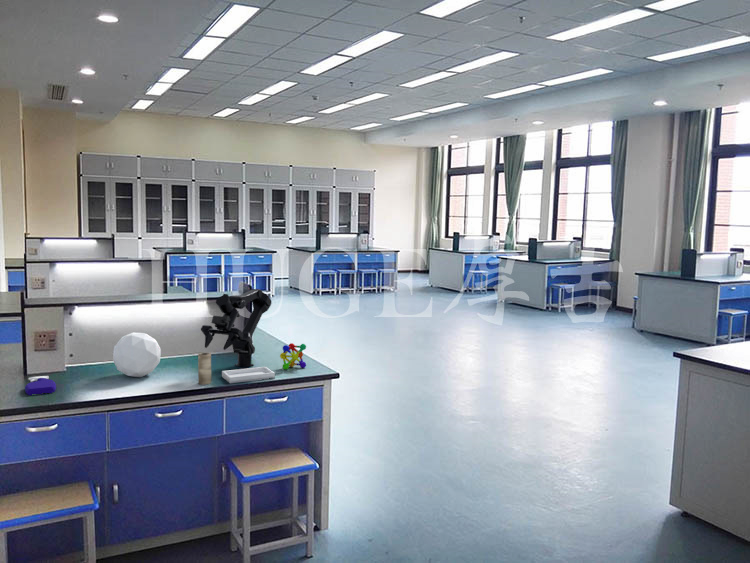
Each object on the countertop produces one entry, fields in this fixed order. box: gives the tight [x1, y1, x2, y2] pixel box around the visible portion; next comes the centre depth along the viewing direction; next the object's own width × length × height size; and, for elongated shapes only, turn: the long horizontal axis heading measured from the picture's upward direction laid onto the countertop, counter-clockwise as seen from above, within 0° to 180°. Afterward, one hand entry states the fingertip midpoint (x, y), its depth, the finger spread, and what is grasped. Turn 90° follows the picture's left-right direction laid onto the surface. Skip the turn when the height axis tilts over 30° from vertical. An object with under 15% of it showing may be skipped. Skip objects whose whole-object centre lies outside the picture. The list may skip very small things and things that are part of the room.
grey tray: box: [221, 366, 276, 384], centre depth 270 cm, size 20×12×2 cm, turn 119°
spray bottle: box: [24, 375, 57, 396], centre depth 248 cm, size 3×11×24 cm
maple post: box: [197, 352, 212, 386], centre depth 259 cm, size 5×5×13 cm
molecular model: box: [279, 342, 307, 370], centre depth 288 cm, size 12×7×12 cm, turn 116°
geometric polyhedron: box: [112, 331, 162, 378], centre depth 268 cm, size 19×20×20 cm
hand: (214, 348), depth 265 cm, fingers open, 9 cm apart
